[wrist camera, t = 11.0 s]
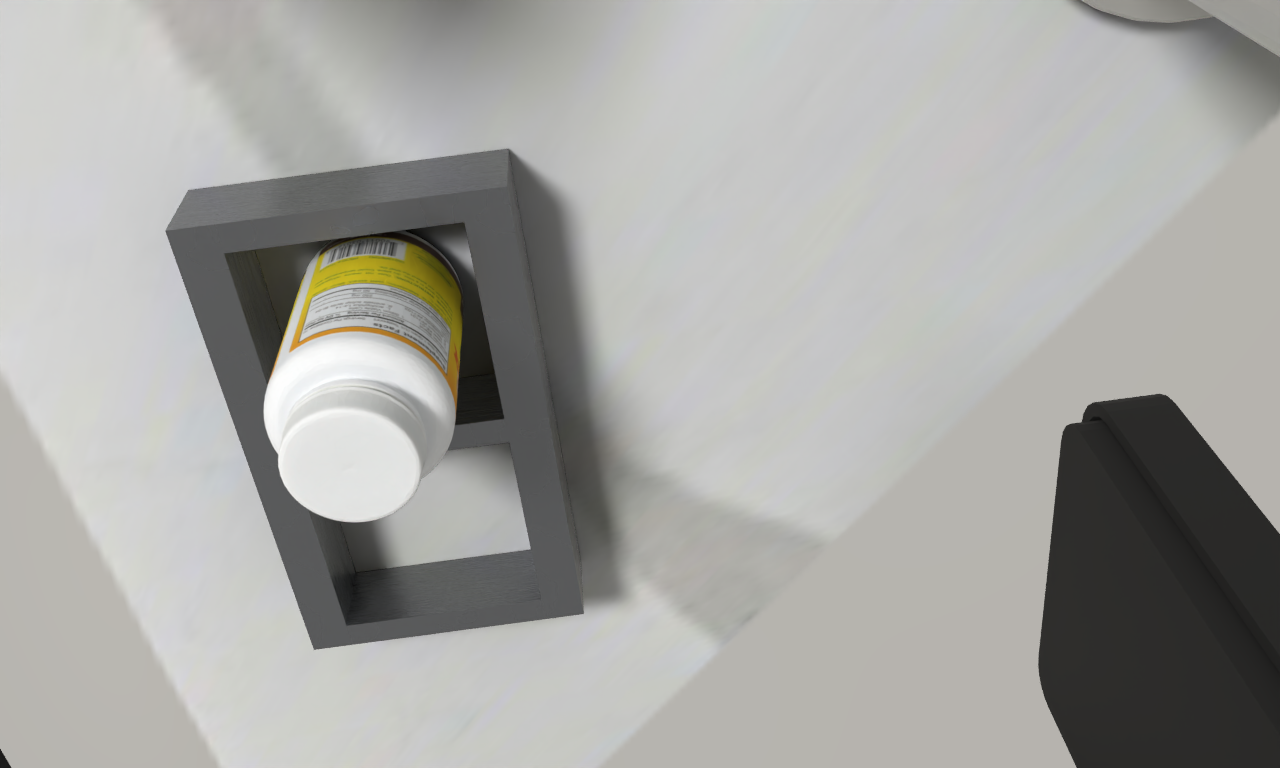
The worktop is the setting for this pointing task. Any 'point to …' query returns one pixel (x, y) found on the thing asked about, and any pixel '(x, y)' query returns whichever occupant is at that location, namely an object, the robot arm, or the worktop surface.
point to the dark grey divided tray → (486, 405)
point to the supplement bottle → (367, 375)
